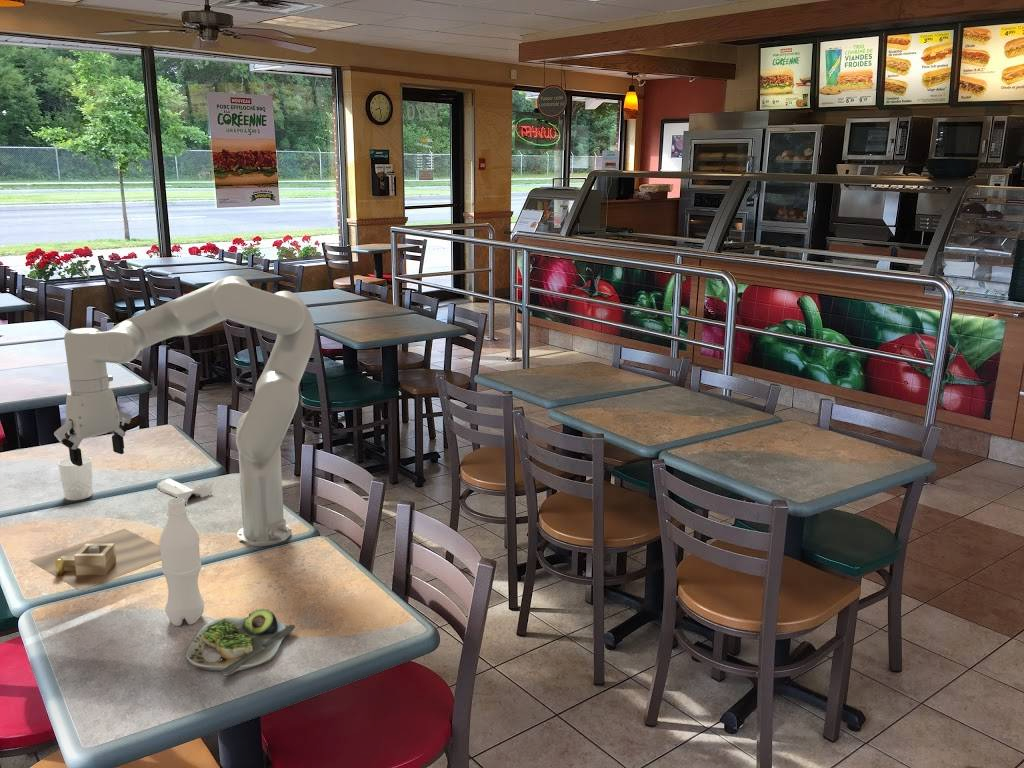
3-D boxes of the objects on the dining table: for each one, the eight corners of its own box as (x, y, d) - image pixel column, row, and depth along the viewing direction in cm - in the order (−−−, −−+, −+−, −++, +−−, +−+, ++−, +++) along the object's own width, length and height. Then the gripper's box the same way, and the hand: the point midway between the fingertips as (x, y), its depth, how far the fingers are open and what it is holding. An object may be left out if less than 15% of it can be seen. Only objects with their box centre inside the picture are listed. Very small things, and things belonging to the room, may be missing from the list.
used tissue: (178, 508, 219) (177, 494, 218) (155, 488, 232) (154, 475, 231) (218, 499, 226) (217, 485, 225) (194, 480, 239) (193, 467, 238)
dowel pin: (66, 574, 179) (64, 559, 179) (58, 576, 178) (56, 561, 177) (62, 572, 180) (60, 557, 179) (54, 574, 179) (53, 559, 178)
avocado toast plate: (271, 684, 145) (270, 661, 144) (168, 682, 145) (166, 658, 144) (300, 626, 164) (299, 604, 163) (209, 623, 164) (207, 602, 163)
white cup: (65, 492, 227) (61, 457, 225) (97, 489, 230) (93, 454, 227) (59, 502, 220) (55, 466, 218) (92, 499, 222) (88, 464, 220)
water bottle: (164, 631, 161) (153, 509, 154) (168, 612, 167) (158, 495, 161) (203, 626, 162) (194, 506, 156) (206, 608, 169) (197, 492, 163)
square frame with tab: (116, 562, 185) (114, 543, 184) (105, 574, 179) (103, 555, 178) (67, 562, 185) (65, 543, 183) (54, 575, 179) (52, 555, 178)
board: (177, 558, 190) (175, 533, 189) (80, 595, 173) (77, 568, 171) (125, 533, 203) (122, 509, 201) (30, 565, 185) (26, 539, 184)
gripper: (116, 374, 193) (124, 445, 197) (40, 390, 179) (51, 466, 183) (135, 379, 188) (143, 451, 193) (59, 395, 175) (69, 473, 179)
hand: (98, 458), depth 188 cm, fingers open, 9 cm apart
